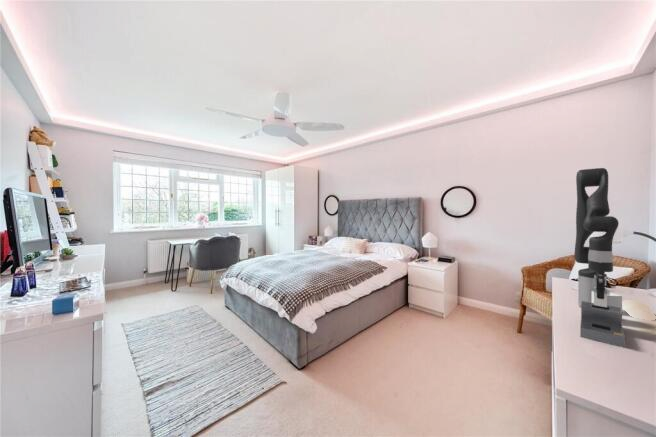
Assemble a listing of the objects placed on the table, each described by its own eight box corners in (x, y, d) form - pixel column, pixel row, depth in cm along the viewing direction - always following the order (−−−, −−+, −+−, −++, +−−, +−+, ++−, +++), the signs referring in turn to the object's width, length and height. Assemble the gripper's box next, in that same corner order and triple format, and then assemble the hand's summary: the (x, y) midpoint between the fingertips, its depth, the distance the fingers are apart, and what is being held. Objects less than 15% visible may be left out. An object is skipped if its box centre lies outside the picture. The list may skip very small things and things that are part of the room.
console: (581, 319, 120) (581, 301, 119) (620, 327, 111) (619, 307, 111) (580, 336, 103) (580, 315, 103) (625, 347, 94) (624, 324, 94)
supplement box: (623, 322, 115) (623, 296, 115) (604, 321, 116) (604, 295, 116) (608, 316, 122) (608, 291, 122) (590, 315, 124) (590, 290, 123)
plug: (593, 303, 114) (593, 286, 114) (609, 306, 111) (609, 288, 110) (593, 305, 112) (593, 287, 112) (609, 307, 109) (609, 290, 108)
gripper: (588, 256, 119) (588, 292, 119) (588, 261, 109) (588, 299, 110) (612, 258, 113) (612, 295, 114) (614, 263, 104) (613, 304, 104)
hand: (600, 297), depth 112 cm, fingers closed on plug, 3 cm apart
